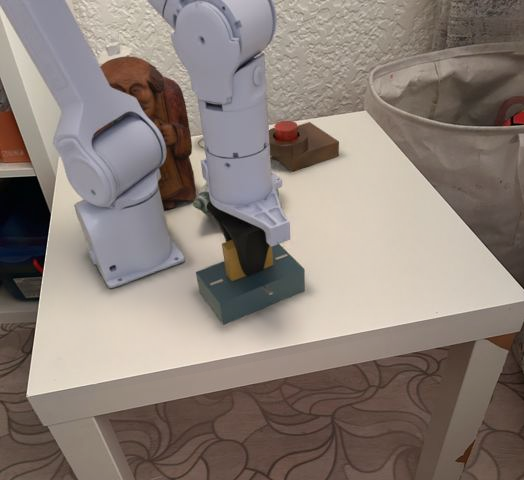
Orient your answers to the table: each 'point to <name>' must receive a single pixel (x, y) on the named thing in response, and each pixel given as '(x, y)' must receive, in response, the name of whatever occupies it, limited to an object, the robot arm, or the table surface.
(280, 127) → the button
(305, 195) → the table surface
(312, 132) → the button block
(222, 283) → the plate
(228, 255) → the tap handle
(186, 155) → the wooden figurine
